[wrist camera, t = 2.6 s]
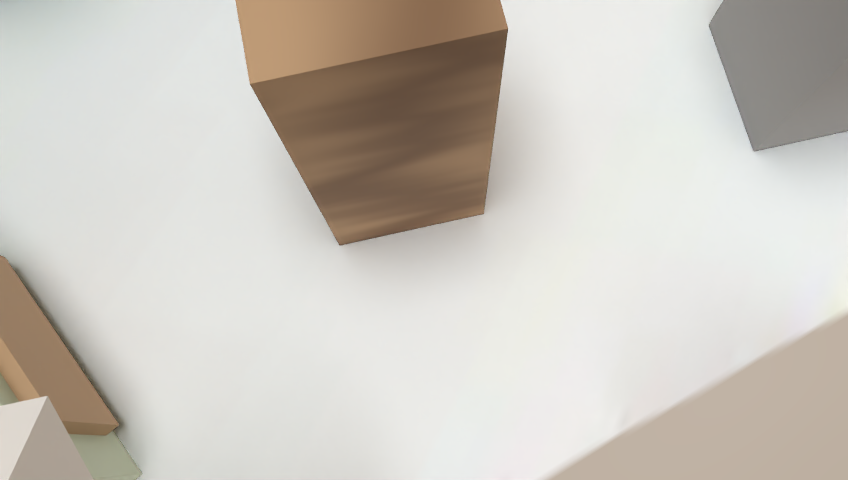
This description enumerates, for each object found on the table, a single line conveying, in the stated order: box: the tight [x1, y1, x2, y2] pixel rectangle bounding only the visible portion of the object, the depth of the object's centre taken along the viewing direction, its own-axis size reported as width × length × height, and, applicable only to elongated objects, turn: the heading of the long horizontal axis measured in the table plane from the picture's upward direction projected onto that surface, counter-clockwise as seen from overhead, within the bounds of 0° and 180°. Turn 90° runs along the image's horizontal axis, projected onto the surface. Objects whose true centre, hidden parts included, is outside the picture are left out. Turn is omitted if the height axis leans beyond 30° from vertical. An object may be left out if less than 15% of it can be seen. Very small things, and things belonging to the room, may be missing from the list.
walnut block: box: [236, 0, 508, 245], centre depth 21 cm, size 5×5×12 cm
